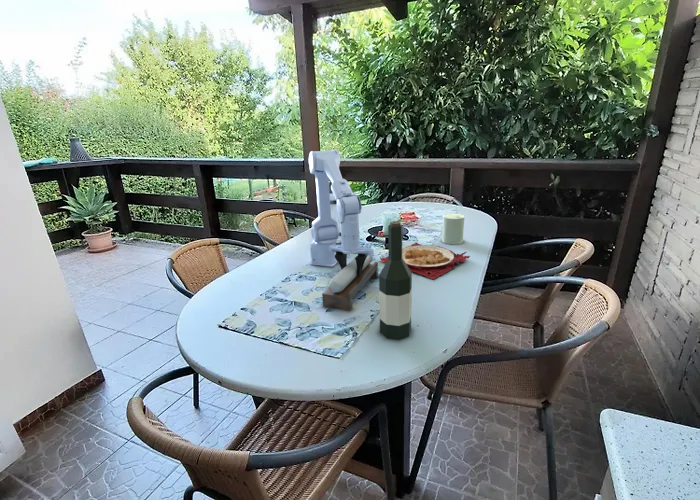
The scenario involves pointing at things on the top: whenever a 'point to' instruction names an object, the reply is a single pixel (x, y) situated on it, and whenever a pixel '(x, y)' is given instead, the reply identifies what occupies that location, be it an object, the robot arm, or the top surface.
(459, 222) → the can
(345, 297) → the wooden display stand
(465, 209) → the top surface
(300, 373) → the top surface
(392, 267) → the wine bottle
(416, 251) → the plate with food
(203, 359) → the top surface
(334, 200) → the coffee press
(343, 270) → the tube
